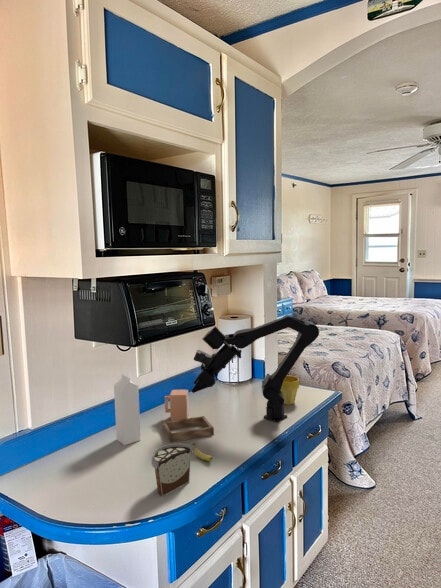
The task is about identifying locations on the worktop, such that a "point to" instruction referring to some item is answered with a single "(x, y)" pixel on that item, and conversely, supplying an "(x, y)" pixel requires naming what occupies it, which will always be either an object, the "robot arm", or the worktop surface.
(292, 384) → the plant pot
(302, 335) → the robot arm
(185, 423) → the frame
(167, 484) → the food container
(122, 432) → the milk
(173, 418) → the peach box with tab
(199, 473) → the worktop surface
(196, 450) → the banana
